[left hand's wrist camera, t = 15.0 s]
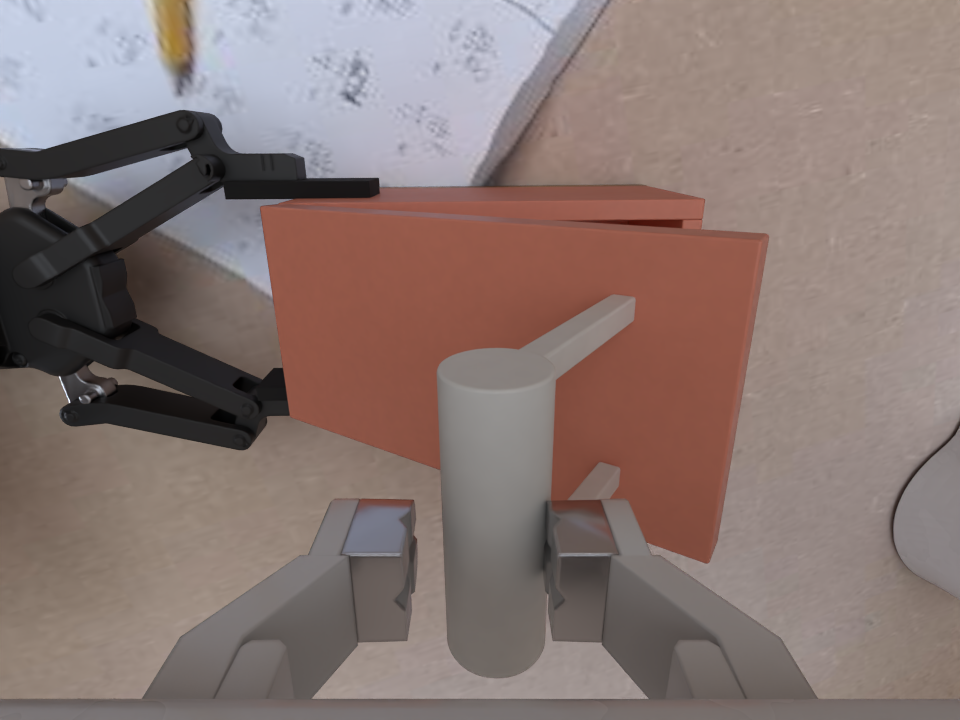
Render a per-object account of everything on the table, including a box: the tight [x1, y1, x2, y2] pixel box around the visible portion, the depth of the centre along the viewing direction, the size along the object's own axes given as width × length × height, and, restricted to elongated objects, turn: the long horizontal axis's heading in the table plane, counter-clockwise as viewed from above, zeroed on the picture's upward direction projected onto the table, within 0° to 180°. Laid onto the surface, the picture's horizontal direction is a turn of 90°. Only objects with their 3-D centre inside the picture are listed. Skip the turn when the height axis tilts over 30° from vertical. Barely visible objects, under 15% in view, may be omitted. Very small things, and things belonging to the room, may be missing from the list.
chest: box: [279, 185, 705, 230], centre depth 29 cm, size 18×9×10 cm, turn 91°
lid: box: [260, 204, 769, 678], centre depth 17 cm, size 18×9×9 cm
